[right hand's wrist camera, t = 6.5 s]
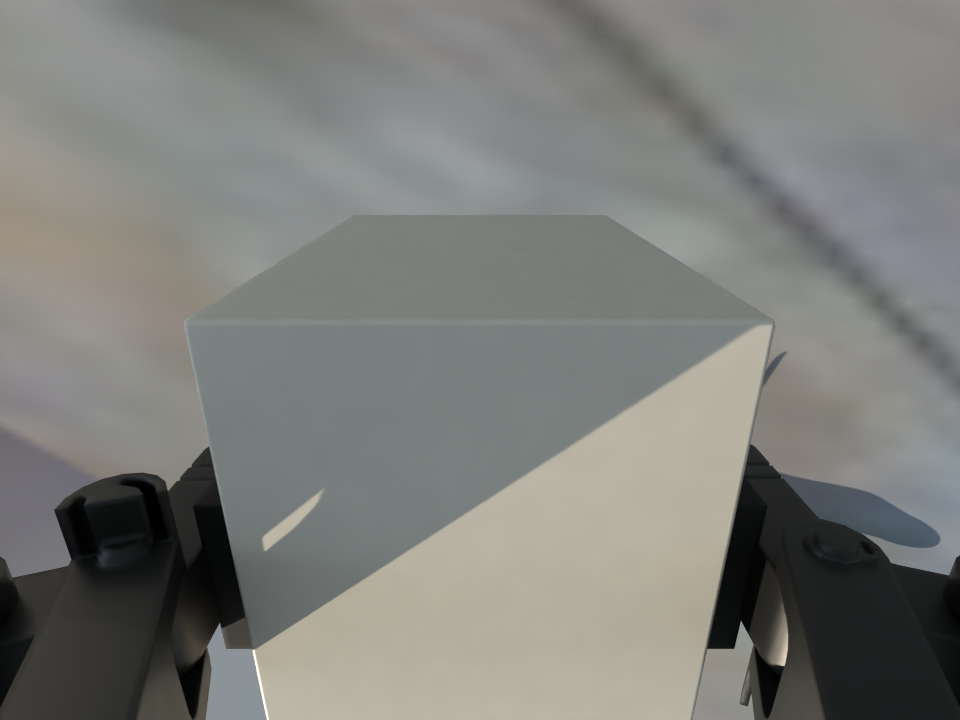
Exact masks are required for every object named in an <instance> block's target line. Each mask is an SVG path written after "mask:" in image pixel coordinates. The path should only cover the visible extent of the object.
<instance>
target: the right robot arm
mask: <svg viewBox="0 0 960 720" xmlns="http://www.w3.org/2000/svg"><path fill="white" fill-rule="evenodd" d="M54 511H55V514H56V516H57V519H58V522H59V525H60V528H61V531H62V534H63V536H64V539H65V542H66V545H67V548H68V551H69V554H70V556H71V559H72V560H71V562H70V564H69V566H66V567H62V568H57V569H52V570H48V571H43V572H38V573H33V574H29V575H24V576H19V577H14V578H12V576H11V573H10V571H9V568H8V566H7V563H6V561H5V560H4V559H3V558H1V557H0V720H205V719H206V711H207V702H208V694H209V685H210V677H211V663H210V657H209V653H208V649H207V645H208V644H209V642H210V640H211V638H212V636H213V634H214V632H215V630H216V629H217V627H218V625H219V623H220V624H221V629H222V633H223V637H224V642H225V646H226V649H252V646H251V641H250V637H249V632H248V627H247V622H246V618H245V613H244V608H243V603H242V599H241V594H240V589H239V584H238V580H237V575H236V570H235V566H234V561H233V556H232V551H231V547H230V542H229V537H228V532H227V528H226V523H225V518H224V513H223V509H222V504H221V499H220V494H219V490H218V485H217V480H216V476H215V471H214V466H213V461H212V457H211V452H210V447H208V448H206V449H205V450H204V451H203V452H202V453H201V455H200V456H199V457H198V458H197V459H196V460H195V461H194V463H193V464H192V467H191V468H188V469H187V470H186V472H185V473H184V474H183V475H182V476H181V477H180V481H177V482H176V483H175V484H174V485H173V486H172V488H171V489H170V490H169V491H167V487H166V483H165V481H164V480H163V479H161V478H160V477H159V476H157V475H153V474H147V473H131V474H121V475H117V476H113V477H109V478H105V479H102V480H99V481H97V482H94V483H92V484H90V485H87V486H85V487H82V488H81V489H79V490H77V491H76V492H74V493H73V494H71V495H70V496H68V497H66V498H65V499H64V500H63V501H62V502H61V503H60V505H58V507H57V508H56V509H55V510H54ZM741 621H742V623H743V625H744V627H745V629H746V631H747V632H748V634H749V636H750V638H751V640H752V642H753V644H754V645H753V649H752V653H751V657H750V661H749V665H748V669H747V673H746V677H745V681H744V685H743V689H742V693H741V699H740V704H741V705H745V706H748V703H749V699H750V695H751V693H752V701H753V709H754V718H755V720H960V556H958V557H957V558H956V560H955V562H954V565H953V567H952V570H951V572H950V575H949V576H948V575H944V574H939V573H934V572H929V571H924V570H920V569H915V568H910V567H905V566H901V565H896V564H893V563H890V561H889V559H888V557H887V556H886V555H885V554H884V552H883V551H882V550H881V548H880V547H879V546H878V545H876V544H875V543H874V542H872V541H871V540H870V539H868V538H867V537H866V536H864V535H863V534H861V533H859V532H857V531H855V530H852V529H850V528H848V527H846V526H844V525H841V524H837V523H834V522H830V521H827V520H821V519H819V518H818V517H817V516H816V515H815V514H814V513H813V512H812V510H811V509H810V508H809V507H808V506H807V505H806V504H805V503H804V501H803V500H802V499H801V498H800V497H799V496H798V495H797V494H796V492H795V491H794V490H793V489H792V488H791V487H790V486H789V484H788V483H787V482H786V481H785V480H784V479H781V475H780V474H779V473H778V472H777V471H776V470H775V469H774V468H773V466H769V462H768V461H767V460H766V459H765V457H764V456H763V455H762V454H761V453H760V452H759V451H758V450H757V448H756V447H754V446H753V445H751V444H750V448H749V452H748V457H747V462H746V467H745V471H744V476H743V481H742V486H741V491H740V495H739V500H738V505H737V510H736V514H735V519H734V524H733V529H732V533H731V538H730V543H729V548H728V552H727V557H726V562H725V567H724V571H723V576H722V581H721V586H720V590H719V595H718V600H717V605H716V609H715V614H714V619H713V624H712V628H711V633H710V638H709V643H708V647H707V649H734V647H735V643H736V639H737V635H738V630H739V626H740V622H741Z"/></svg>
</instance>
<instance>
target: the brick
mask: <svg viewBox="0 0 960 720" xmlns="http://www.w3.org/2000/svg"><path fill="white" fill-rule="evenodd" d="M184 329H185V333H186V338H187V343H188V348H189V352H190V357H191V362H192V367H193V371H194V376H195V381H196V386H197V390H198V395H199V400H200V404H201V409H202V414H203V419H204V423H205V428H206V433H207V438H208V442H209V447H210V452H211V457H212V461H213V466H214V471H215V476H216V480H217V485H218V490H219V494H220V499H221V504H222V509H223V513H224V518H225V523H226V528H227V532H228V537H229V542H230V547H231V551H232V556H233V561H234V566H235V570H236V575H237V580H238V584H239V589H240V594H241V599H242V603H243V608H244V613H245V618H246V622H247V627H248V632H249V637H250V641H251V646H252V651H253V656H254V660H255V665H256V669H257V674H258V679H259V684H260V689H261V693H262V698H263V703H264V707H265V712H266V717H267V720H692V719H693V714H694V709H695V704H696V700H697V695H698V690H699V685H700V681H701V676H702V671H703V666H704V662H705V657H706V652H707V647H708V643H709V638H710V633H711V628H712V624H713V619H714V614H715V609H716V605H717V600H718V595H719V590H720V586H721V581H722V576H723V571H724V567H725V562H726V557H727V552H728V548H729V543H730V538H731V533H732V529H733V524H734V519H735V514H736V510H737V505H738V500H739V495H740V491H741V486H742V481H743V476H744V471H745V467H746V462H747V457H748V452H749V448H750V443H751V438H752V433H753V429H754V424H755V419H756V414H757V410H758V405H759V400H760V395H761V391H762V386H763V381H764V376H765V372H766V367H767V362H768V357H769V353H770V348H771V343H772V338H773V334H774V329H775V322H774V320H773V319H772V318H770V317H768V316H767V315H765V314H764V313H762V312H760V311H759V310H757V309H755V308H754V307H752V306H751V305H749V304H747V303H746V302H744V301H743V300H741V299H739V298H738V297H736V296H735V295H733V294H731V293H730V292H728V291H726V290H725V289H723V288H722V287H720V286H718V285H717V284H715V283H714V282H712V281H710V280H709V279H707V278H706V277H704V276H702V275H701V274H699V273H698V272H696V271H694V270H693V269H691V268H689V267H688V266H686V265H685V264H683V263H681V262H680V261H678V260H677V259H675V258H673V257H672V256H670V255H669V254H667V253H665V252H664V251H662V250H661V249H659V248H657V247H656V246H654V245H652V244H651V243H649V242H648V241H646V240H644V239H643V238H641V237H640V236H638V235H636V234H635V233H633V232H632V231H630V230H628V229H627V228H625V227H623V226H622V225H620V224H619V223H617V222H615V221H614V220H612V219H611V218H609V217H607V216H605V215H354V216H352V217H351V218H349V219H347V220H346V221H344V222H343V223H341V224H339V225H338V226H336V227H334V228H333V229H331V230H330V231H328V232H326V233H325V234H323V235H322V236H320V237H318V238H317V239H315V240H313V241H312V242H310V243H309V244H307V245H305V246H304V247H302V248H301V249H299V250H297V251H296V252H294V253H292V254H291V255H289V256H288V257H286V258H284V259H283V260H281V261H280V262H278V263H276V264H275V265H273V266H271V267H270V268H268V269H267V270H265V271H263V272H262V273H260V274H259V275H257V276H255V277H254V278H252V279H250V280H249V281H247V282H246V283H244V284H242V285H241V286H239V287H238V288H236V289H234V290H233V291H231V292H229V293H228V294H226V295H225V296H223V297H221V298H220V299H218V300H217V301H215V302H213V303H212V304H210V305H208V306H207V307H205V308H204V309H202V310H200V311H199V312H197V313H196V314H194V315H192V316H191V317H189V318H187V319H186V320H185V322H184Z"/></svg>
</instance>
